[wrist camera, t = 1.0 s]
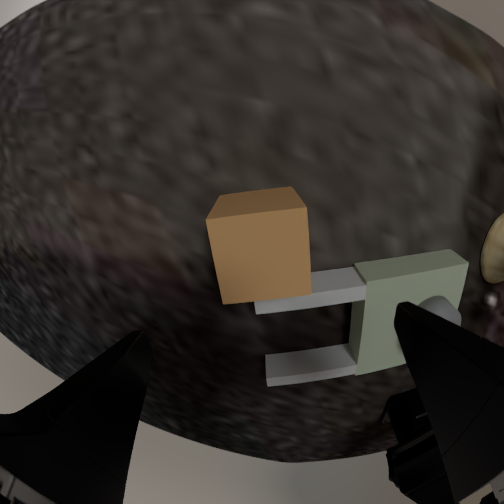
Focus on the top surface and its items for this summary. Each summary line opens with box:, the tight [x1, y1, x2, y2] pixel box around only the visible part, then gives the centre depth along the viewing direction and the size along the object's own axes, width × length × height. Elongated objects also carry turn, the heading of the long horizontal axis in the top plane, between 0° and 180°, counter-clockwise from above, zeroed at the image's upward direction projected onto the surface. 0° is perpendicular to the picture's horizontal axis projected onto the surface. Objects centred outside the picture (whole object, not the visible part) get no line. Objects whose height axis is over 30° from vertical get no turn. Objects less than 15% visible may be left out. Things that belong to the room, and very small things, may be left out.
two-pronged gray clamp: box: [254, 249, 469, 386], centre depth 21 cm, size 18×10×5 cm, turn 98°
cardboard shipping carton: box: [206, 186, 311, 304], centre depth 17 cm, size 5×5×6 cm
